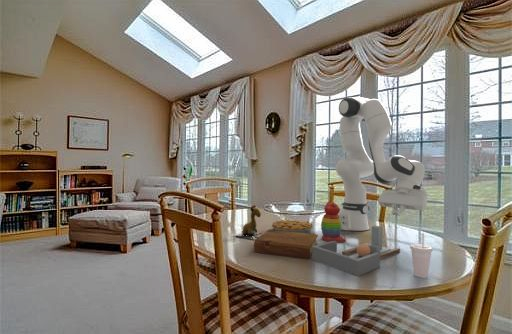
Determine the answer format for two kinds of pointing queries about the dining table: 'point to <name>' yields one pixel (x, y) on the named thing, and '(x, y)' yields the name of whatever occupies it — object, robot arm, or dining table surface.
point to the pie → (292, 226)
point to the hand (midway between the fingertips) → (395, 214)
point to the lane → (382, 255)
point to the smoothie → (421, 258)
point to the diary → (286, 244)
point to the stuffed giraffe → (251, 224)
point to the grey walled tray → (344, 259)
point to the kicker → (377, 241)
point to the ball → (363, 250)
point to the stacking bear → (331, 224)
